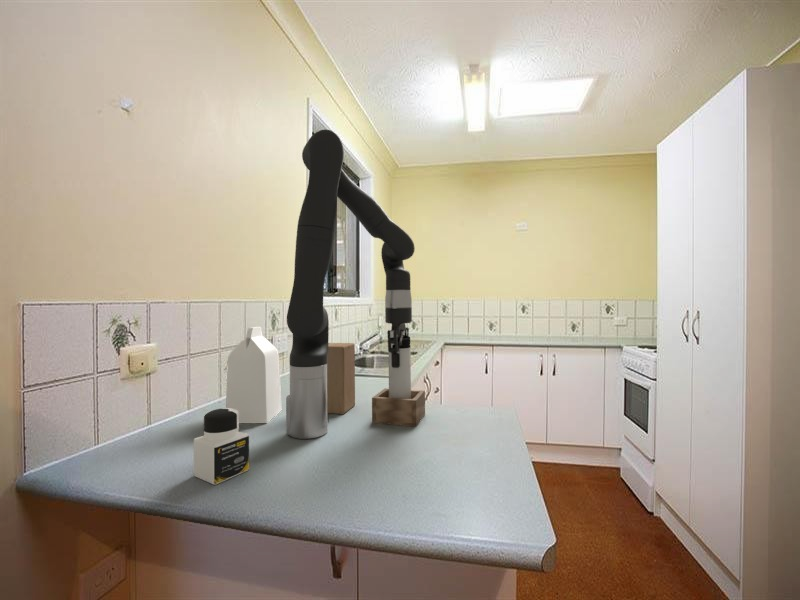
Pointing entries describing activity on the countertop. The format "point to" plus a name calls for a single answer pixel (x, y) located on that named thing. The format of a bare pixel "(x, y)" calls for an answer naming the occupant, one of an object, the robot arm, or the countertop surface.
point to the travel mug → (401, 373)
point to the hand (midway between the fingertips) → (399, 365)
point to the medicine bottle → (221, 447)
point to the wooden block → (340, 377)
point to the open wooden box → (398, 408)
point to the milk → (254, 379)
